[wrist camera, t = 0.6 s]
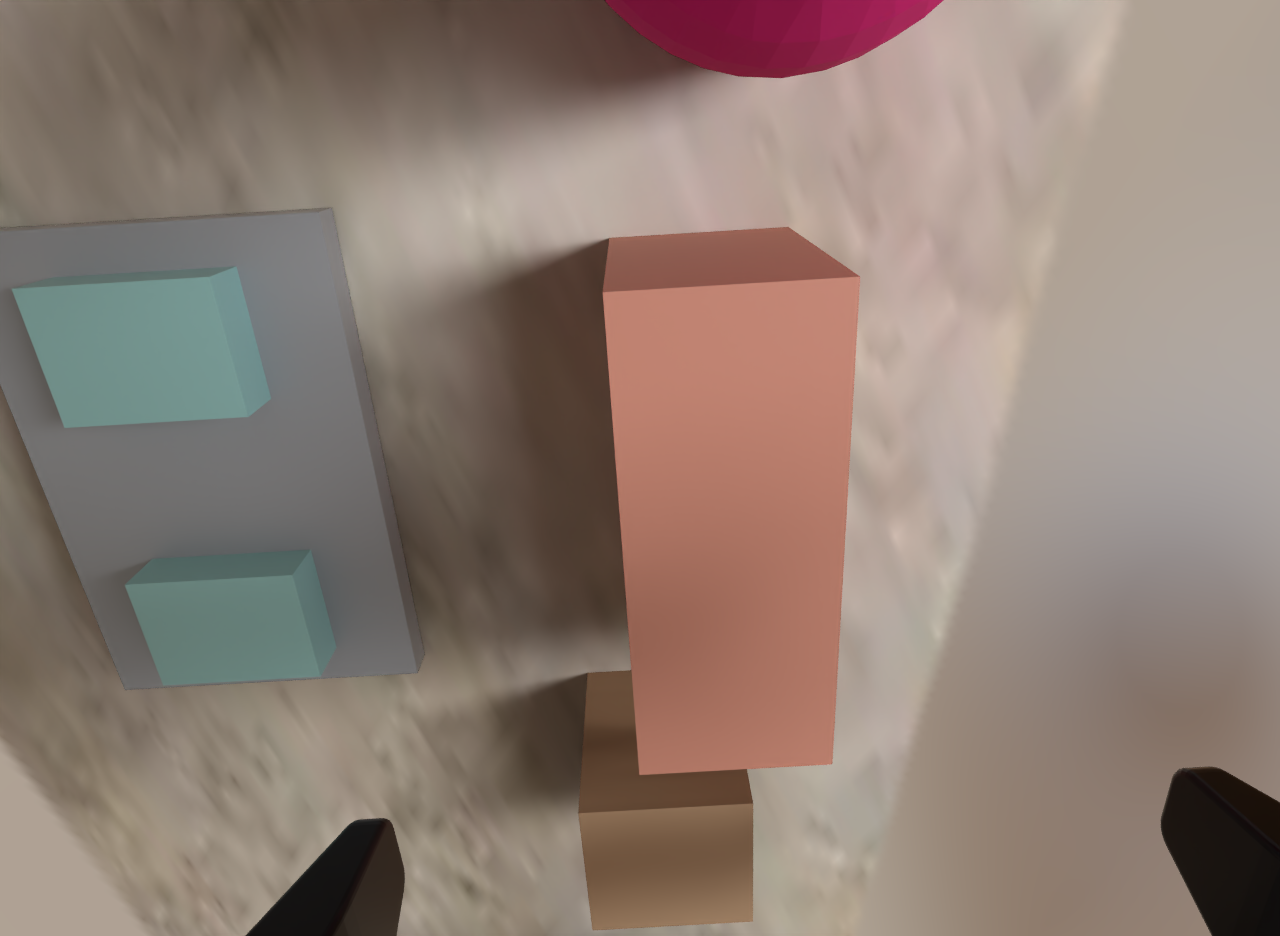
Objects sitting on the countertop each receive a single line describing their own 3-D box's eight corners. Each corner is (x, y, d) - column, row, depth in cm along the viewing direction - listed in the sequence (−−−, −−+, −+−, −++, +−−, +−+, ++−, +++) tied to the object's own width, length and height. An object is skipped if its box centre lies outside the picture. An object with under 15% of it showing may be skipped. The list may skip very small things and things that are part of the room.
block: (728, 769, 24) (752, 921, 20) (598, 776, 24) (592, 930, 20) (726, 663, 23) (753, 803, 18) (587, 672, 23) (578, 813, 18)
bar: (780, 600, 22) (832, 763, 16) (635, 609, 22) (639, 774, 16) (786, 226, 18) (859, 276, 12) (609, 237, 18) (602, 292, 12)
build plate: (424, 654, 22) (406, 703, 20) (141, 670, 22) (98, 721, 20) (332, 207, 17) (297, 219, 15) (-32, 230, 17) (-110, 243, 15)
